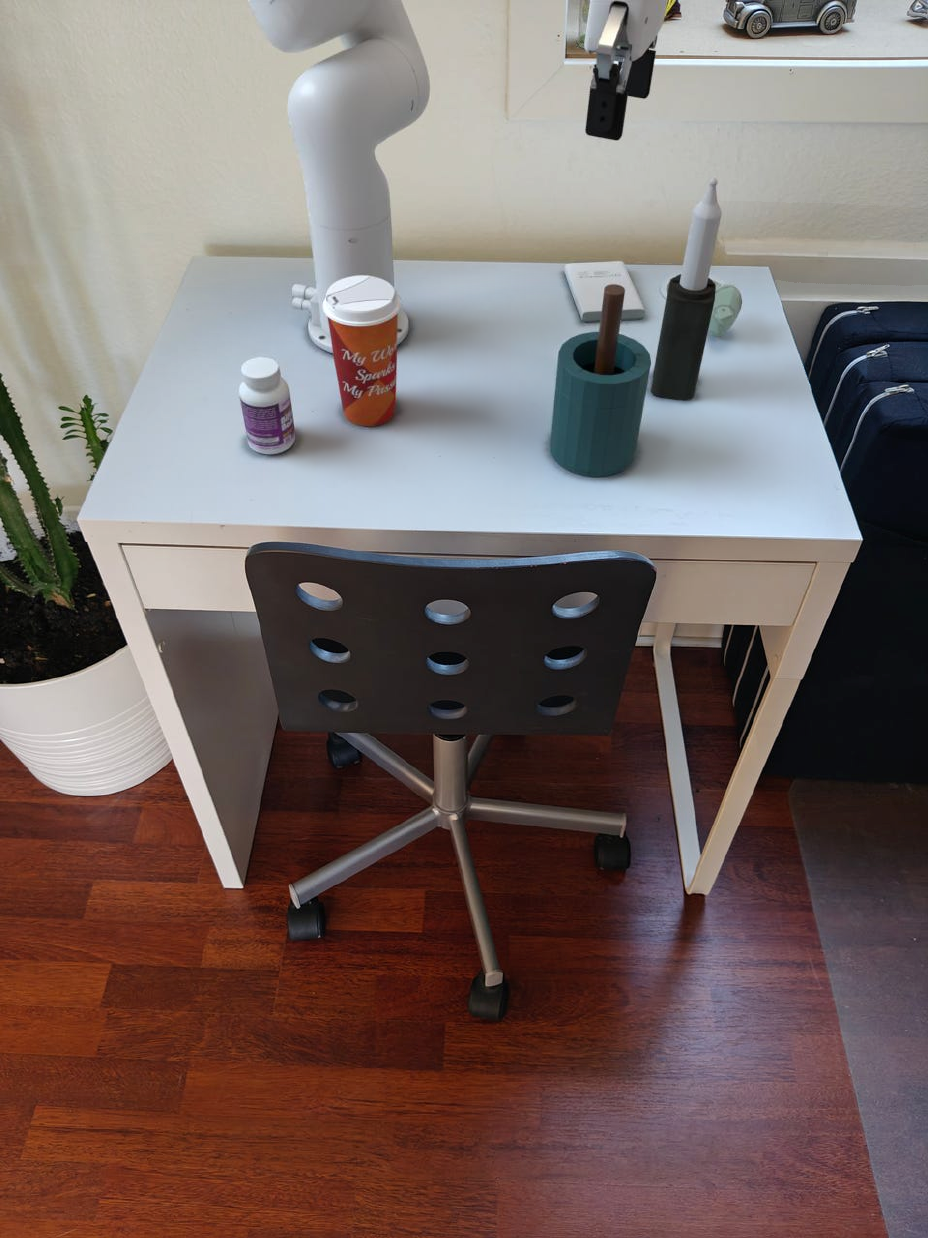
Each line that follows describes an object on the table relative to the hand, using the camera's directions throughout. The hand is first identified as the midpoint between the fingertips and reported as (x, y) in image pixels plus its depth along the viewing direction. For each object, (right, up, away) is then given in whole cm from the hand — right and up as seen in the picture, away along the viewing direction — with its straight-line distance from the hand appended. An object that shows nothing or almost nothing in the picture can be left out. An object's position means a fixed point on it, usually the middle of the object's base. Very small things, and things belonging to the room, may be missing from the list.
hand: (617, 115), depth 90 cm
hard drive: (+5, -3, +43) cm, 43 cm away
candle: (+11, -18, +29) cm, 36 cm away
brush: (+1, -26, +21) cm, 33 cm away
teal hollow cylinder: (0, -27, +21) cm, 34 cm away
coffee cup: (-25, -21, +26) cm, 42 cm away
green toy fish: (+18, -9, +37) cm, 42 cm away
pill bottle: (-35, -26, +22) cm, 49 cm away
